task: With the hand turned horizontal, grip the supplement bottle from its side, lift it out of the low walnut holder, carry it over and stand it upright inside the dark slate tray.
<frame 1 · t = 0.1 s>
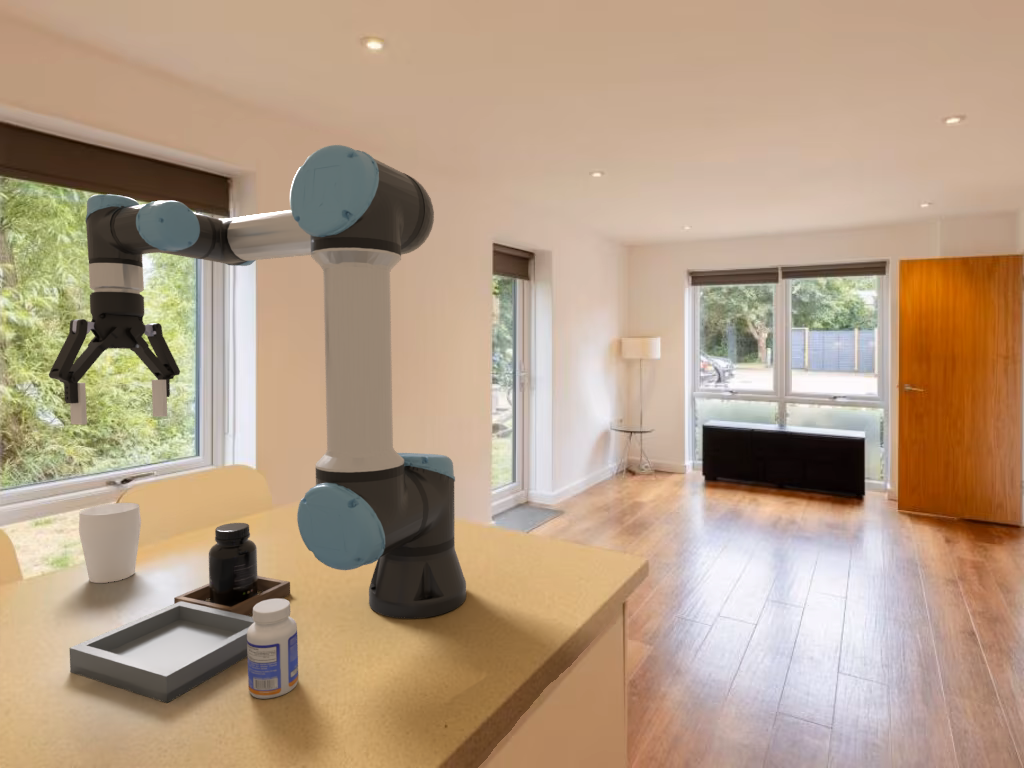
hand: (122, 420, 100), 28 cm above the kitchen island, tool pointing down, fingers open, 13 cm apart
tray: (175, 656, 76), on the kitchen island
supplement bottle: (234, 603, 93), resting in bottle holder
cup: (112, 577, 104), on the kitchen island
bottle holder: (234, 602, 93), on the kitchen island
pill bottle: (273, 688, 69), on the kitchen island
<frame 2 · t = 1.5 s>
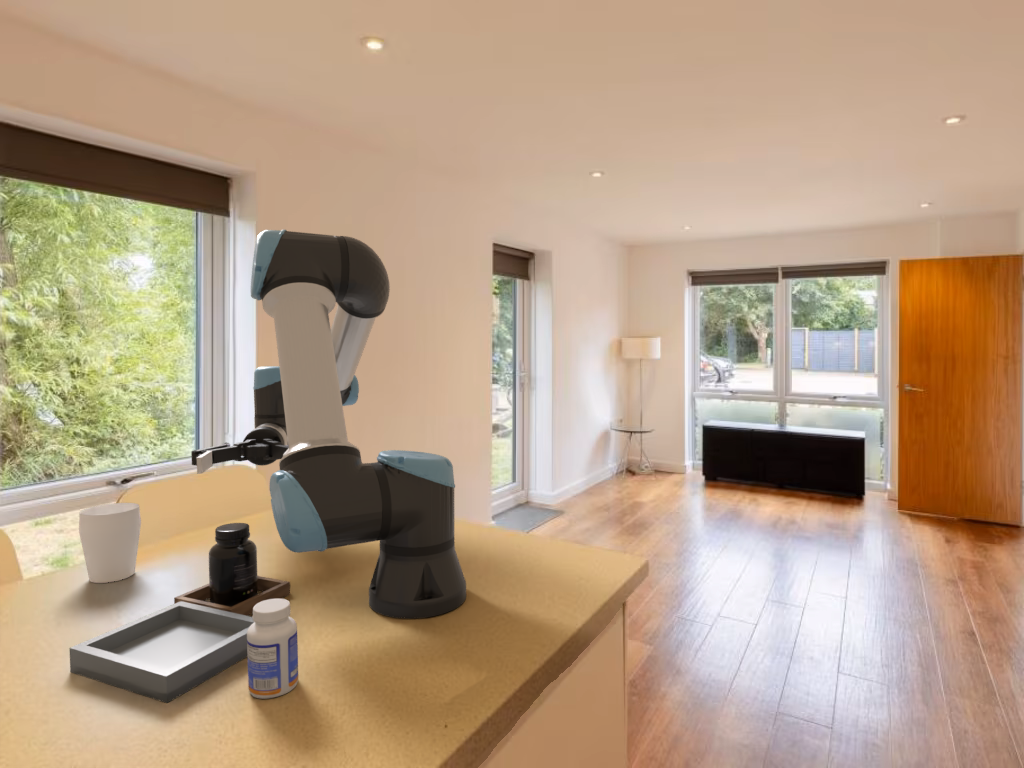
hand: (243, 463, 101), 20 cm above the kitchen island, tool horizontal, fingers open, 13 cm apart
nothing on the kitchen island moved.
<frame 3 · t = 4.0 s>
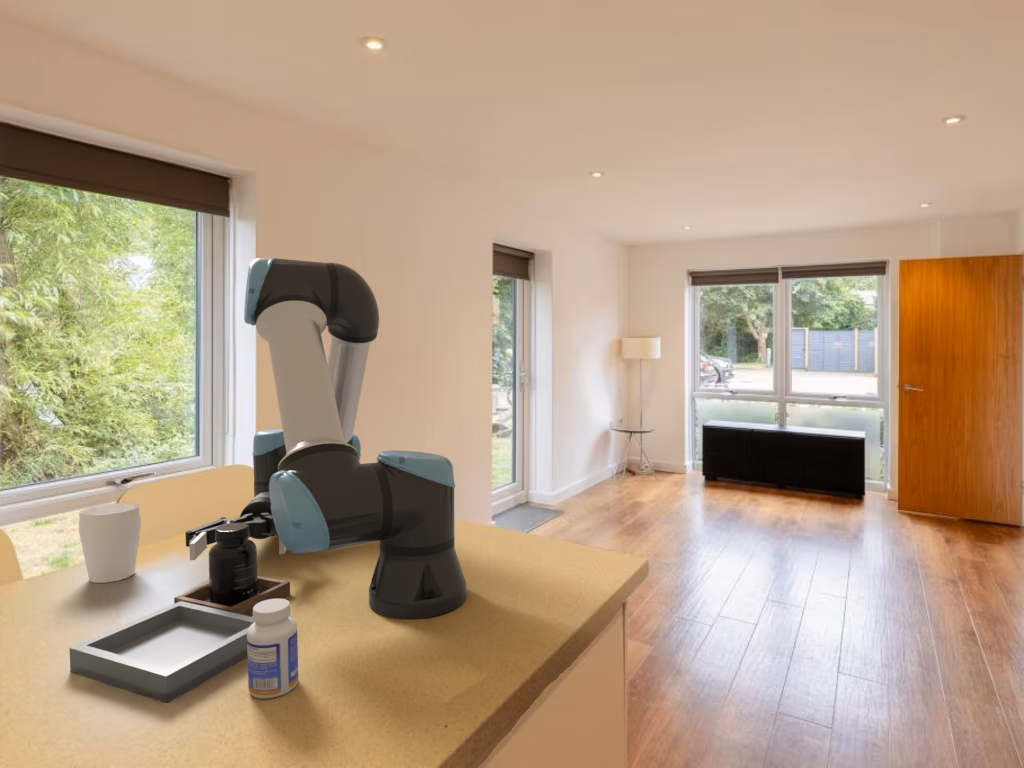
hand: (237, 549, 97), 7 cm above the kitchen island, tool horizontal, fingers open, 13 cm apart
nothing on the kitchen island moved.
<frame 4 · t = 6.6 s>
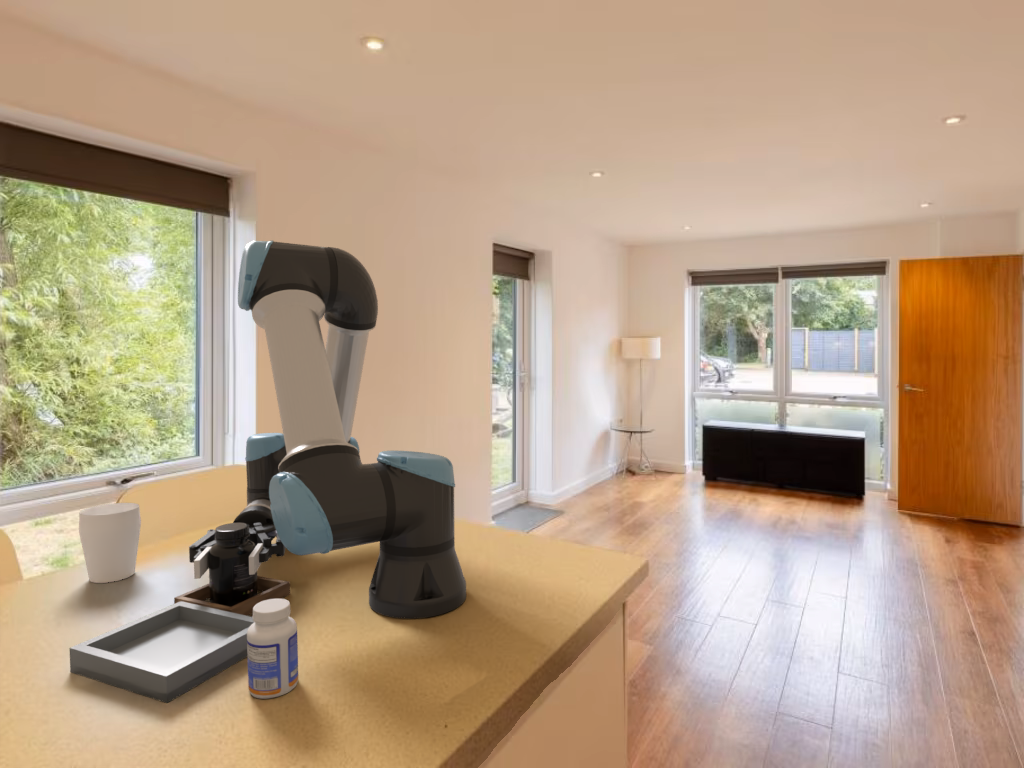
hand: (224, 567, 88), 7 cm above the kitchen island, tool horizontal, fingers closed on supplement bottle, 7 cm apart
supplement bottle: (234, 603, 93), resting in bottle holder, touching gripper
everything else where it was.
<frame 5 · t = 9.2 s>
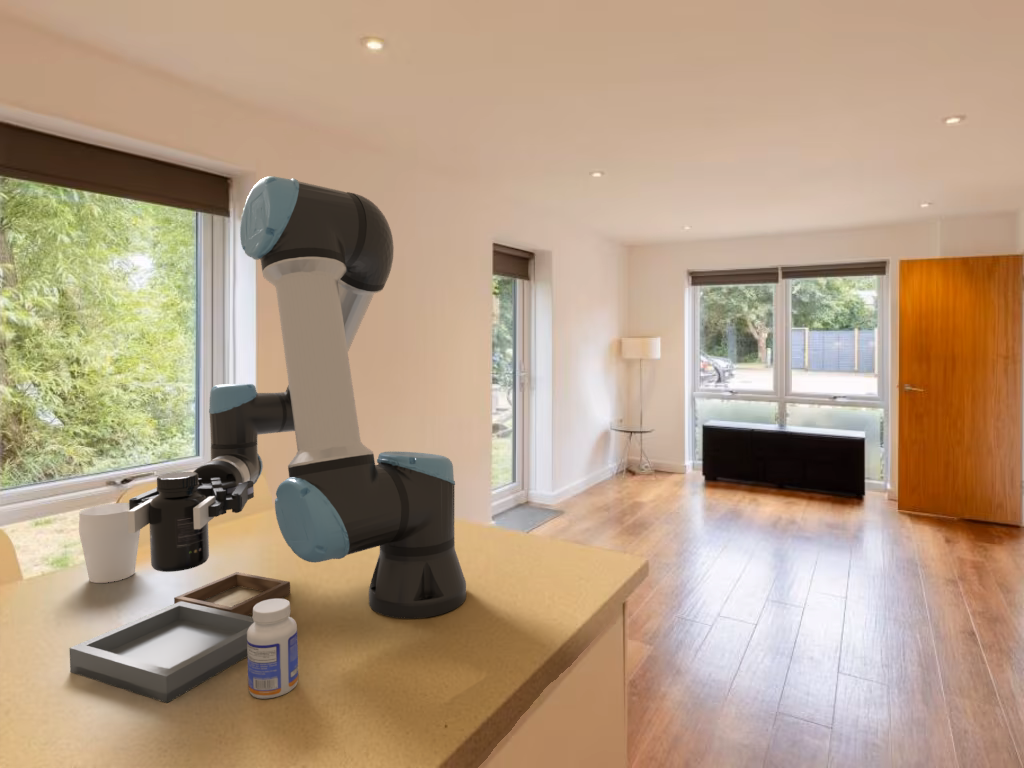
hand: (164, 520, 74), 18 cm above the kitchen island, tool horizontal, fingers closed on supplement bottle, 7 cm apart
supplement bottle: (180, 565, 80), point 10 cm above the kitchen island, touching gripper
everything else where it was.
when the fingers open (10 cm above the kitchen island, at t = 12.3 s): supplement bottle drops 1 cm, resting on tray.
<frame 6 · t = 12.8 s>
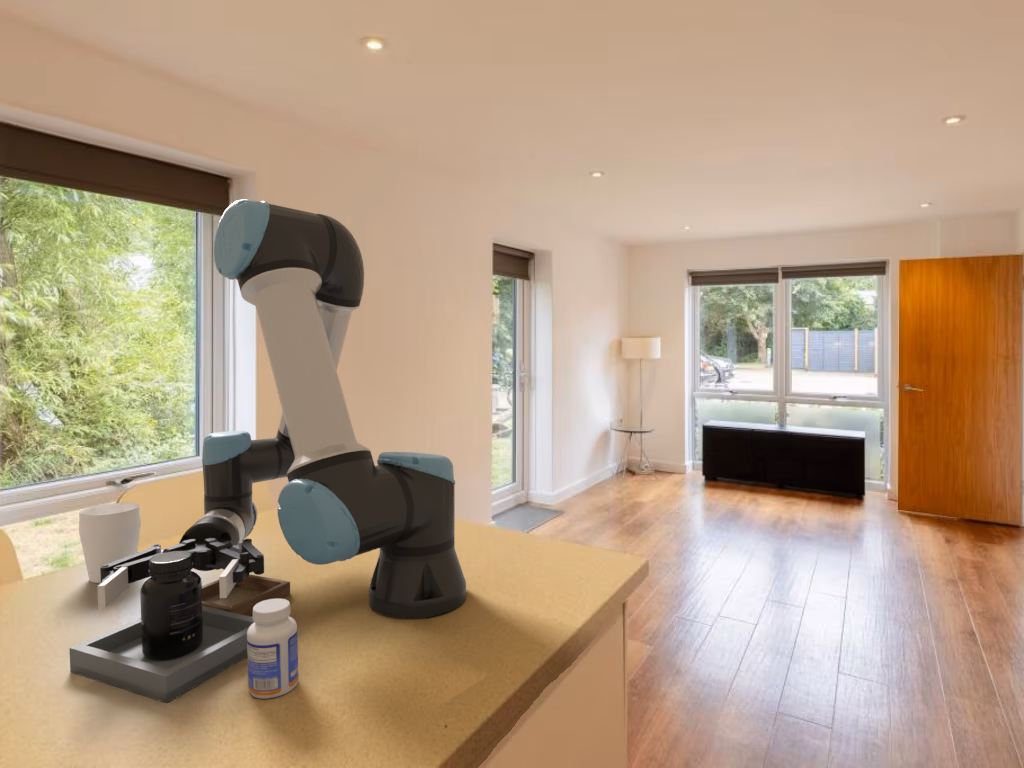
hand: (163, 592, 72), 10 cm above the kitchen island, tool horizontal, fingers open, 13 cm apart
supplement bottle: (173, 650, 76), point 1 cm above the kitchen island, touching tray
everything else where it was.
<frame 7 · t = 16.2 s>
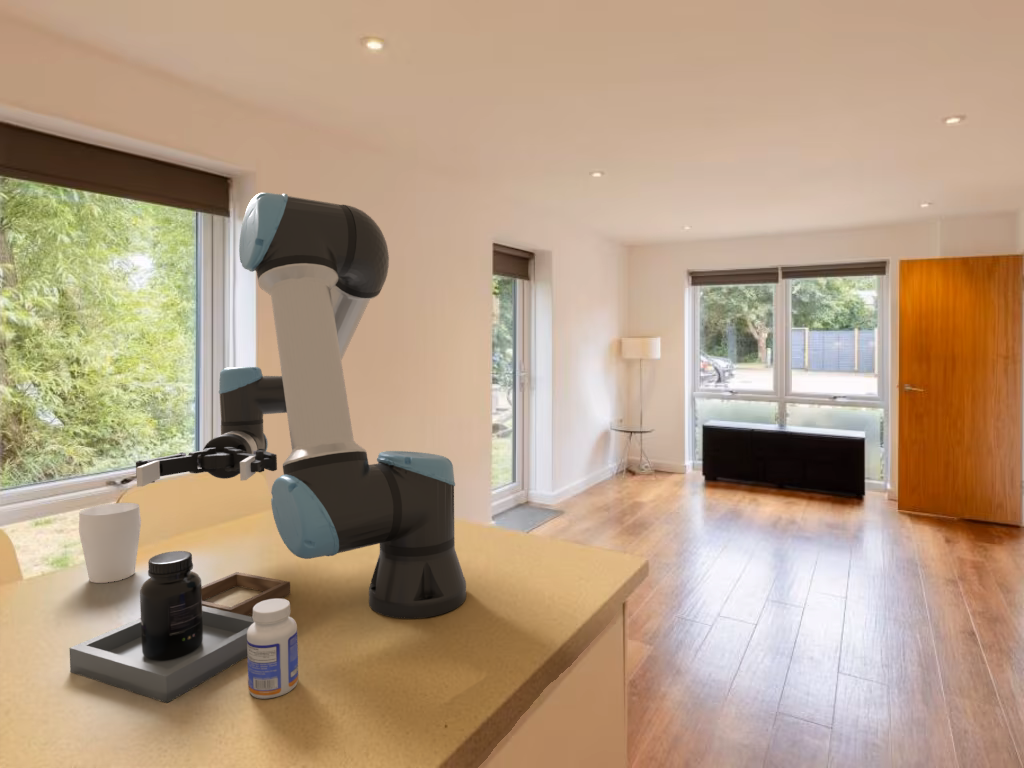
hand: (191, 474, 85), 22 cm above the kitchen island, tool horizontal, fingers open, 13 cm apart
nothing on the kitchen island moved.
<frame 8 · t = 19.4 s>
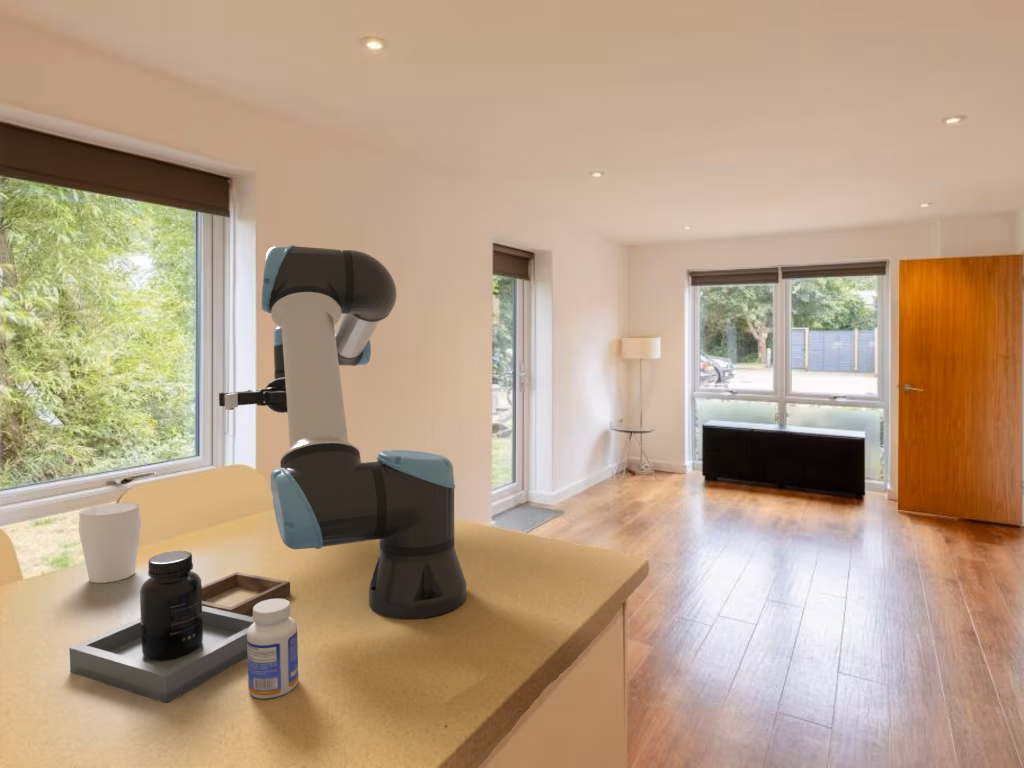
hand: (266, 401, 112), 30 cm above the kitchen island, tool horizontal, fingers open, 13 cm apart
nothing on the kitchen island moved.
at the end: supplement bottle inside the target area on the tray (0.2 cm from its centre), point 0.8 cm above the tray's base; supplement bottle tilted 0°; the gripper is holding nothing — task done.
